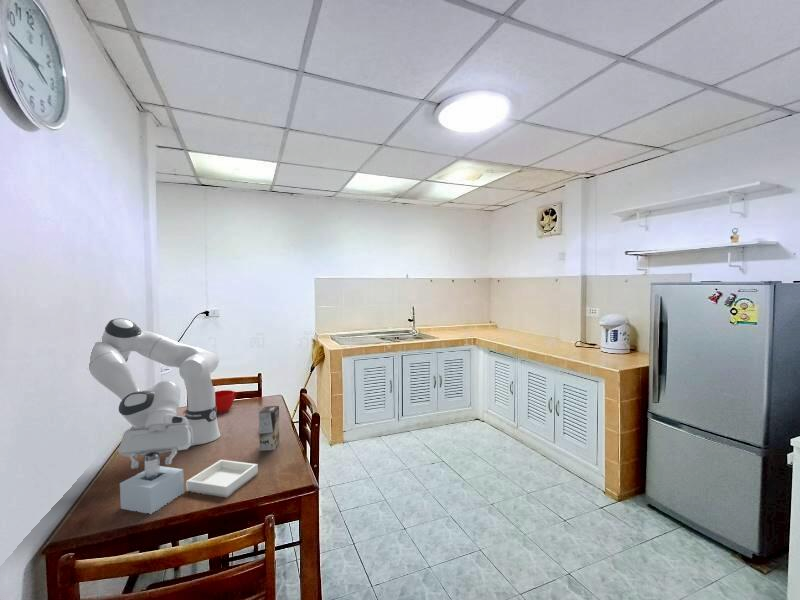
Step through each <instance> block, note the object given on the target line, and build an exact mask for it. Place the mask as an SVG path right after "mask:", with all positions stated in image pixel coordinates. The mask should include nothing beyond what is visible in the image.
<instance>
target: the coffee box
mask: <svg viewBox="0 0 800 600" xmlns="http://www.w3.org/2000/svg"><path fill="white" fill-rule="evenodd" d="M258 429H259V432H258V434H259V435H258V437H259V439H258V441H259V451H260V452H261V451H265V452H266V451H275V450H276V449H277V446H278V445H279V444H280V442H281V441H280V440H281V439H280V438H281V434H280V431H281V429H280V405H270V406H264V407H263V408H262V409H261V410H260V411H259V412H258Z"/></svg>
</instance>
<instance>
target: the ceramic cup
mask: <svg viewBox="0 0 800 600" xmlns="http://www.w3.org/2000/svg"><path fill="white" fill-rule="evenodd" d="M237 395H238V392H237V391H236V390H235V391H234V390H231V389H230V390H216V391H215V405H216V408H217V414H224V413H226V412H227V413H228V411H229V410H230V409H231V408H232V405H233V403H234V401H235V400H236V398H237V397H238V396H237Z"/></svg>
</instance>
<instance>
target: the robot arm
mask: <svg viewBox="0 0 800 600" xmlns="http://www.w3.org/2000/svg"><path fill="white" fill-rule="evenodd" d="M102 335H103V336H101V338H102V342H100V341H95V342H96V343H95V342H94V343H95V345H94V347H93V349H92V352H91V356H90V363H89V370H90V372H89V373H90V375H91V376H92V377H93V378H94V379H95V381H97V382H98V383H99V384H101V385H102V386H103V387H105V388H106V389H107V390H109V391H110V392H111V393H113V394H115V395H116V396H117V397H118V398H119V399H120V400H121V401H120V403H119V405H118V412H119V414H120V415H121V416H122V417H123V418H124V419H125V420H126V421H127V422H128V423H129V424H130V425H131V426H132V427H130V428H128V429H127V430H125V431H124V433H123V434H122V439H121V442H120V445H119V447H118V451H117V452H118V453H119V455H120V456H121V457H123V458H127V457H129V458H130V460H131V465H130V469H132V470H134V469H138V468H139V465H140V462H139V461H138V460H136V459H137V457H138V456H141V455H142V456H143V455H146V454H148V453H151V452H159V454H160V453H167V452H171V453H170V454H169V455H168V456H167V457H165V461H164V464H165V465H172V461H173V459H174V457H176V456H177V454H178V451H182V450H183V451H184V450H188V449H189V448H190V447H193V446H196V445H203V444H208V443H210V442H213V441H216V440H217V439H219V438H220V437H221V433H220V428H219V424H218V419H217V414H218V413H217V408H216V405H215V392H216V389H215V387H214V386H213V382H212V378H211V374H212V373H213V372H215V370H216V369H217V368H218V366H219V362H220V359H219V356H218V354H216V353H215V352H213V351H212V350H211V351H210V350H205V349H202V348H199V347H195V346H192V345H188V344H185V343H182V342H179V341H177V340H175V339H171V338H170V337H167V336H165V335H162V334H159V333H157V332H154V331H153V332H152V331H148V330H144V329H143V330H142V328H140V327H139V326H138V325H137V324H136V323H135V322H133V321H131V320H130V319H127V318H120V317H119V318H118V317H117V318H114V319H111V320H109V321H108V323H107V324H106V325H105V327H104V332H103V334H102ZM131 352H136V353H137V354H139V355H141V356H143V357H145V358H146V359H149V360H152V361H154V362H156V363H159V364H162V365H164V366H166V367H172V368H178V372H179V376H180V377H181V379H182V380H183V382H184V385H185V386H184V387H185V389H186V396H187V408H186V409H185V410H183V411H182V415H183V414H185V415H184V416H179V415H178V413H177V410H178V409H179V407H180V402H181V401H180V400H181V392H182V391H181V388H180V386H179V385H178V384H177V383H175V382H172V381H170V380H161V381H159V382H157V383H156V384H155V385H154V386H152V387H149V388H147V389H144V390H140V388H139V386H138V385H137V383H136V381H135V378H134V376H133V374H132V372H131V369H130V366H129V365H128V363H127V362H128V360H129V356H130V354H131ZM89 370H88V371H89Z"/></svg>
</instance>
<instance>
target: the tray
mask: <svg viewBox="0 0 800 600" xmlns="http://www.w3.org/2000/svg"><path fill="white" fill-rule="evenodd" d="M258 466H259V464H258V463H250V462H243V461H236V460H235V461H234V460H228V459H219V460H218V461H217V462H215V463H212V465H210V466H208V467H206V468H205V469H203V470H202V471H200V472H199V473H197V474H196V475H193V476H192V477H190V478H189V479H187V480H186V481H185V484H186V485H185V486H186V489H185V490H186V492H188V491H191V492H190V493H194V492H195V493H197V494H200V493H201V494H202V495H208V496H213V497H219V498H220V497H221V498H228V497H230V496H231V495H232V494H233V493H235V492H236V491H237V490H239V489H241V487H242V486H244V485H245V484H247V483H248V482H249V481H250V480H252V479H253V478H255V476H257V475H258V474H259V467H258Z"/></svg>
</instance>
